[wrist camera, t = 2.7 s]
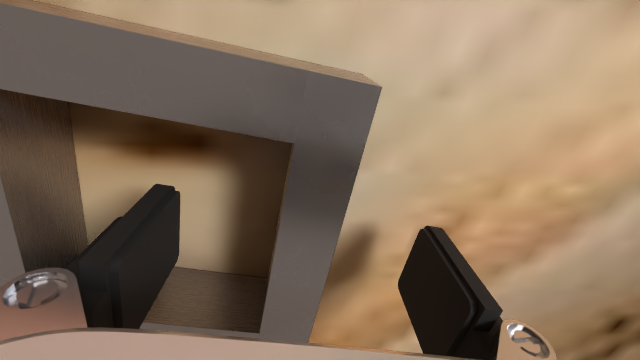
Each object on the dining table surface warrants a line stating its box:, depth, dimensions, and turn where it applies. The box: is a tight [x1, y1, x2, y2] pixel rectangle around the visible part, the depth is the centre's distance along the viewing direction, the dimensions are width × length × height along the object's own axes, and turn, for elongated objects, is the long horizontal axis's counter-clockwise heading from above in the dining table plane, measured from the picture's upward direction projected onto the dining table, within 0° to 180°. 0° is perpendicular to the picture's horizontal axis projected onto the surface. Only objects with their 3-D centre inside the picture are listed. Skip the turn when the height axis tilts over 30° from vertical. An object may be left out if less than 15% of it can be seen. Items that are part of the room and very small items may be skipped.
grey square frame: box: [0, 0, 382, 343], centre depth 11 cm, size 12×12×3 cm
